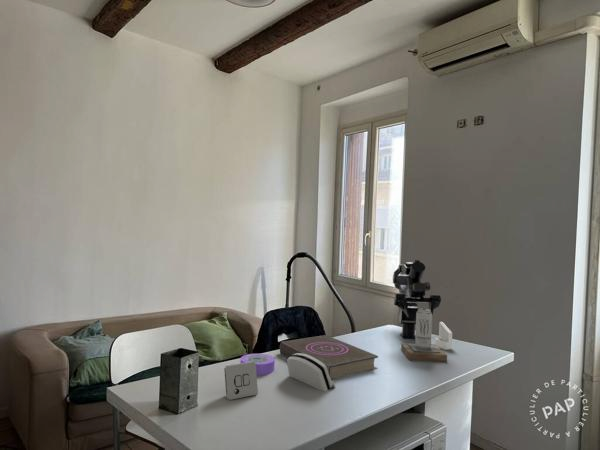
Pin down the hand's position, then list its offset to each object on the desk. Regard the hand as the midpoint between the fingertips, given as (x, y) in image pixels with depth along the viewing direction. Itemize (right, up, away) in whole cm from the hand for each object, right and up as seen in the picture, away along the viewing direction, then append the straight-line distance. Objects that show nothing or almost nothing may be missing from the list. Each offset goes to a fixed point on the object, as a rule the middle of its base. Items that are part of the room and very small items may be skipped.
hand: (420, 317), depth 175 cm
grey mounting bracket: (-46, -13, -39) cm, 62 cm away
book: (-39, -13, -17) cm, 45 cm away
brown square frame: (-1, -13, -7) cm, 15 cm away
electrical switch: (-67, -12, -50) cm, 85 cm away
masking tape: (-64, -12, -28) cm, 71 cm away
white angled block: (+11, -14, +5) cm, 19 cm away
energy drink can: (-1, -11, -6) cm, 12 cm away
